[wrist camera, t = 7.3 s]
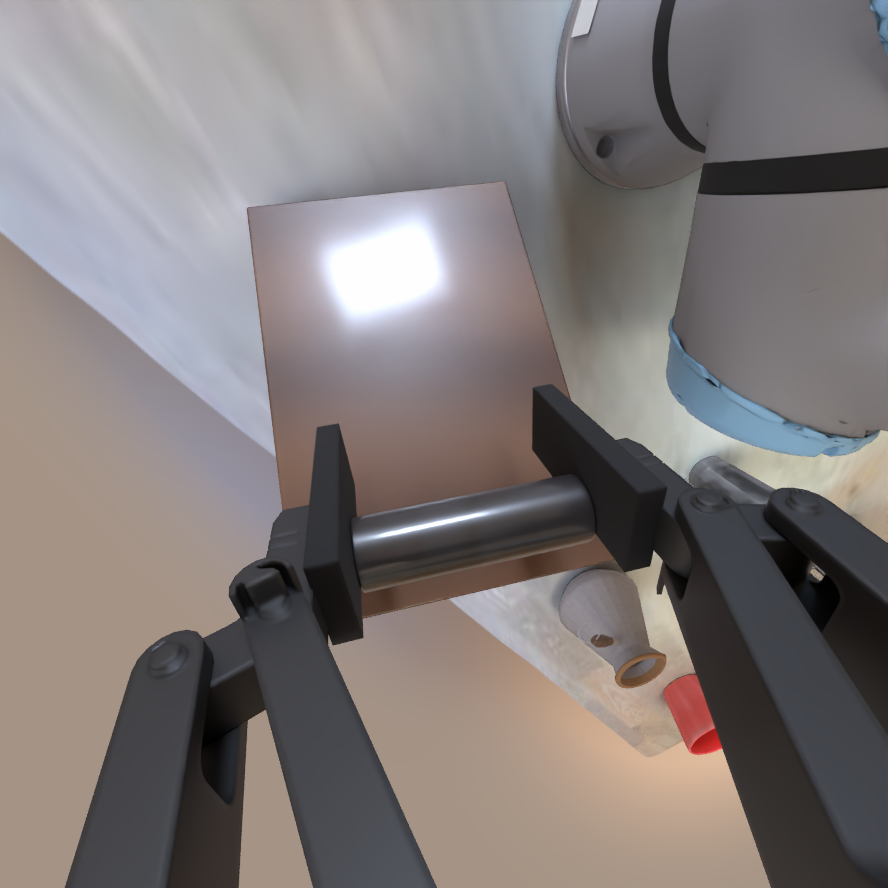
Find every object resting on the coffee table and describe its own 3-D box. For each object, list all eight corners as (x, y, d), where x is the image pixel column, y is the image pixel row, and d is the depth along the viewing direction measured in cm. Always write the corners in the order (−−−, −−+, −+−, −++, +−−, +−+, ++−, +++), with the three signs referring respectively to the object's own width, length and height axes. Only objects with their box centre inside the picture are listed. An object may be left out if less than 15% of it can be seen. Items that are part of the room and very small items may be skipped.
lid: (610, 558, 19) (722, 559, 12) (301, 631, 17) (233, 677, 11) (502, 193, 24) (539, 48, 17) (252, 219, 22) (183, 70, 15)
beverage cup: (738, 442, 53) (924, 559, 36) (722, 489, 57) (883, 614, 40) (686, 451, 52) (853, 577, 35) (673, 498, 56) (818, 631, 39)
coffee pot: (637, 582, 63) (711, 680, 51) (574, 625, 66) (630, 728, 53) (570, 507, 53) (642, 607, 40) (497, 561, 55) (544, 671, 42)
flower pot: (656, 681, 81) (692, 736, 73) (709, 662, 81) (750, 714, 73) (654, 708, 86) (687, 762, 78) (704, 689, 87) (742, 741, 79)
